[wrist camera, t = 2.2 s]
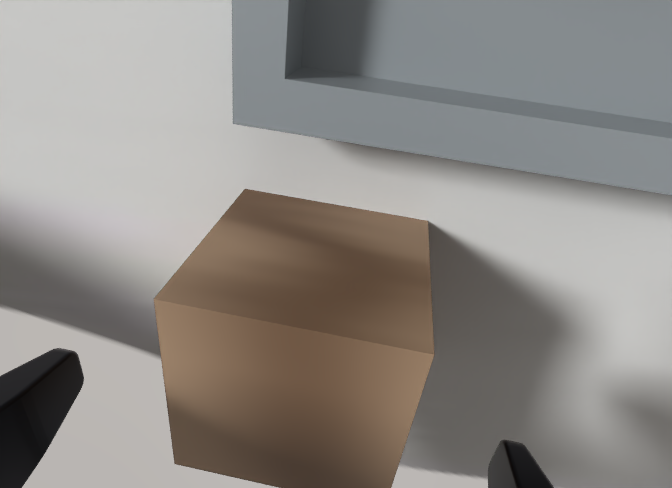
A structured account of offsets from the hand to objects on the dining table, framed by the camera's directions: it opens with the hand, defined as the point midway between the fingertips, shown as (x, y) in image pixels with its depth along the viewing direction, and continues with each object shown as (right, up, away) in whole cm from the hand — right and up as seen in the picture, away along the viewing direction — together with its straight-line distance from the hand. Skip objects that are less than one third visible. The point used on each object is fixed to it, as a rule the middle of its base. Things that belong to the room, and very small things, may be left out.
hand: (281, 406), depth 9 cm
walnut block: (+1, +2, +4) cm, 5 cm away
